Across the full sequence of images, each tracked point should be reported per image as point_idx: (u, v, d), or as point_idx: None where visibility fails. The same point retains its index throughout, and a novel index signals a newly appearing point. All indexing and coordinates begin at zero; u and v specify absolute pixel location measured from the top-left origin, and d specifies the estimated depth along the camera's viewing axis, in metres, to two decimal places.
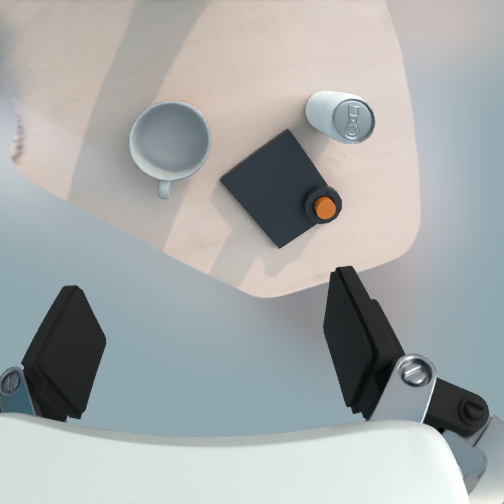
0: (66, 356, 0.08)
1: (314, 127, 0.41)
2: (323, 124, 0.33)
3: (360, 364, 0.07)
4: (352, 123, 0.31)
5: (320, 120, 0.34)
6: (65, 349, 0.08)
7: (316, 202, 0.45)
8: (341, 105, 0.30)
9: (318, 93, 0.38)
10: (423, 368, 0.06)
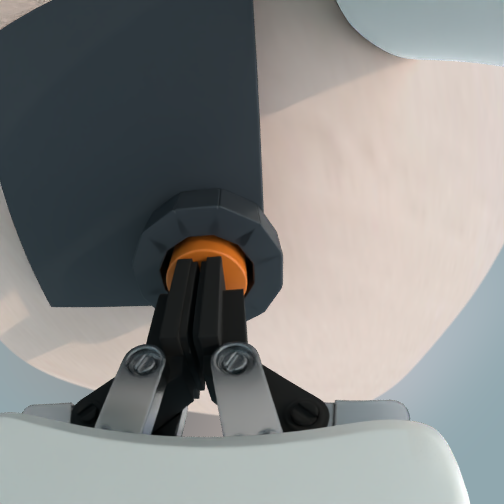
0: None
1: (339, 3, 0.08)
2: None
3: None
4: None
5: None
6: None
7: (187, 240, 0.11)
8: None
9: None
10: (240, 351, 0.07)
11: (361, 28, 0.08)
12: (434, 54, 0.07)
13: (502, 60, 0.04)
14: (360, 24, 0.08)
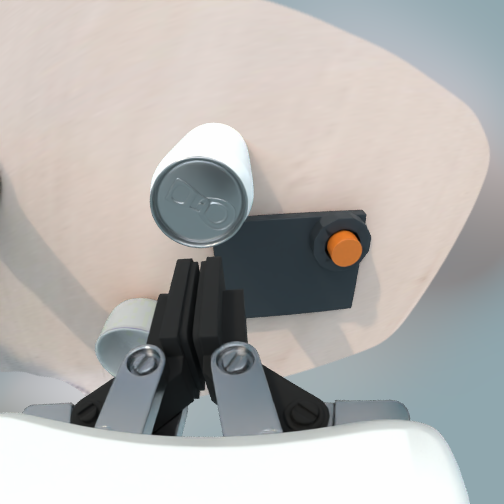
0: None
1: None
2: None
3: None
4: (203, 208, 0.17)
5: None
6: None
7: None
8: (160, 211, 0.17)
9: None
10: (240, 351, 0.07)
11: None
12: None
13: None
14: None
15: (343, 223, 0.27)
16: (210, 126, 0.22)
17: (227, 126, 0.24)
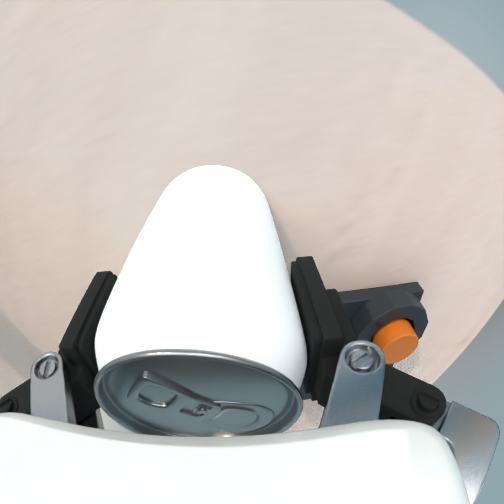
0: None
1: None
2: None
3: (310, 349, 0.08)
4: (207, 411, 0.07)
5: None
6: None
7: None
8: (122, 407, 0.07)
9: None
10: (370, 353, 0.07)
11: None
12: None
13: None
14: None
15: (399, 312, 0.18)
16: (208, 180, 0.13)
17: (237, 173, 0.15)
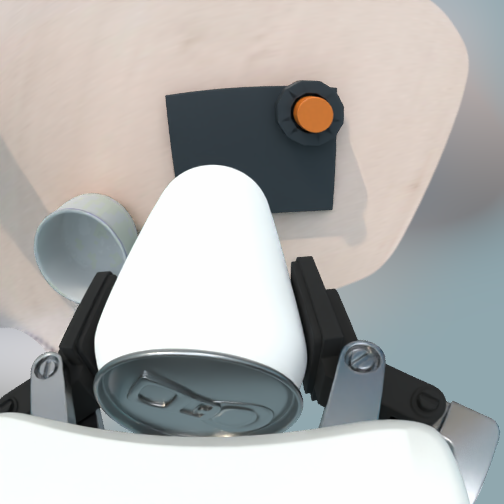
0: None
1: None
2: None
3: (310, 349, 0.08)
4: (207, 411, 0.07)
5: None
6: None
7: (296, 120, 0.24)
8: (122, 407, 0.07)
9: None
10: (370, 353, 0.07)
11: None
12: None
13: None
14: None
15: (309, 86, 0.22)
16: (208, 180, 0.13)
17: (237, 173, 0.15)
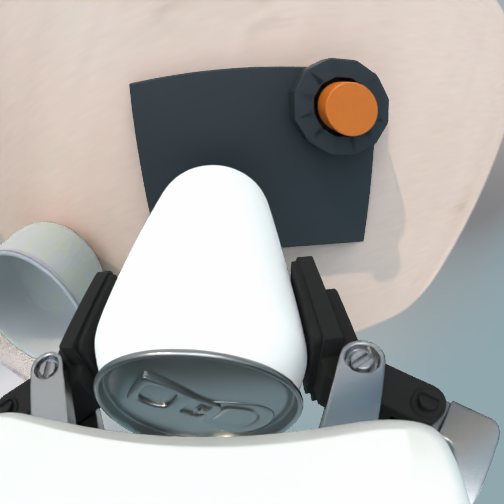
0: None
1: None
2: None
3: (310, 349, 0.08)
4: (207, 411, 0.07)
5: None
6: None
7: (322, 116, 0.15)
8: (122, 407, 0.07)
9: None
10: (370, 353, 0.07)
11: None
12: None
13: None
14: None
15: (340, 66, 0.14)
16: (208, 180, 0.13)
17: (237, 173, 0.15)
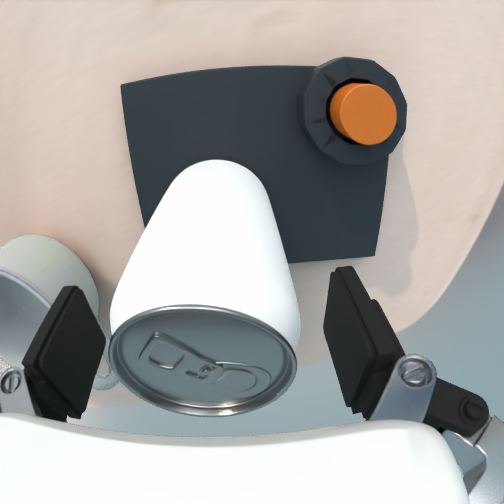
0: (66, 356, 0.08)
1: None
2: None
3: (360, 364, 0.07)
4: (210, 374, 0.09)
5: None
6: (65, 349, 0.08)
7: (335, 122, 0.14)
8: (132, 372, 0.08)
9: None
10: (423, 368, 0.06)
11: None
12: None
13: None
14: None
15: (356, 66, 0.12)
16: (212, 172, 0.14)
17: (239, 167, 0.16)
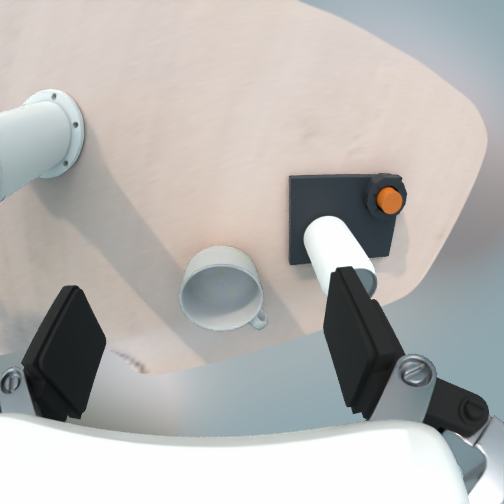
0: (66, 356, 0.08)
1: None
2: None
3: (360, 364, 0.07)
4: None
5: None
6: (65, 349, 0.08)
7: (379, 204, 0.36)
8: None
9: (306, 242, 0.39)
10: (423, 368, 0.06)
11: None
12: None
13: None
14: None
15: (388, 181, 0.35)
16: (335, 225, 0.36)
17: (339, 220, 0.38)
